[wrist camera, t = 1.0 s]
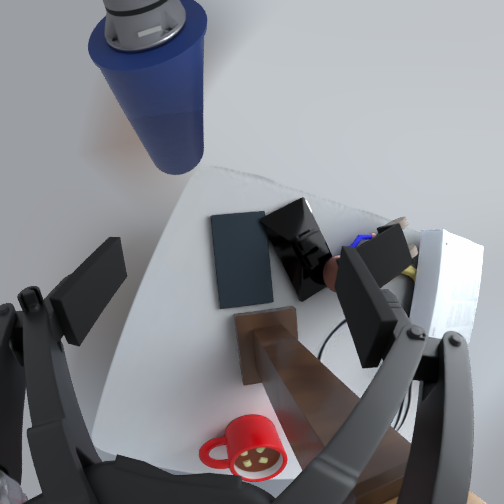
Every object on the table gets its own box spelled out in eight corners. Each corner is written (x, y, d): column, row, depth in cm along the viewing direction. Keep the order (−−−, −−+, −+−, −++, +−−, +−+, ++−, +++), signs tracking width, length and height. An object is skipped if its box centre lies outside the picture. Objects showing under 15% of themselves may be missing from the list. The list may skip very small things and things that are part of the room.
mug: (193, 421, 36) (192, 453, 28) (272, 410, 38) (285, 439, 30) (204, 457, 36) (205, 489, 28) (277, 446, 38) (289, 475, 30)
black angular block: (258, 219, 37) (267, 214, 32) (304, 196, 38) (318, 189, 34) (300, 302, 38) (314, 308, 33) (341, 275, 39) (359, 277, 35)
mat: (210, 216, 37) (210, 215, 36) (263, 211, 38) (264, 210, 37) (220, 307, 37) (220, 308, 36) (272, 301, 38) (273, 302, 37)
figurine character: (379, 217, 42) (308, 260, 37) (413, 209, 35) (340, 257, 30) (393, 255, 42) (327, 303, 38) (428, 252, 35) (361, 309, 31)
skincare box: (462, 245, 44) (419, 228, 39) (484, 246, 39) (446, 227, 34) (444, 351, 44) (397, 359, 39) (465, 357, 39) (422, 369, 33)
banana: (427, 270, 40) (422, 294, 40) (421, 269, 42) (415, 292, 42) (392, 258, 39) (386, 284, 39) (386, 257, 40) (380, 282, 40)
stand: (242, 380, 37) (309, 575, 7) (234, 313, 37) (319, 496, 7) (296, 371, 38) (427, 525, 8) (292, 305, 38) (477, 417, 8)
